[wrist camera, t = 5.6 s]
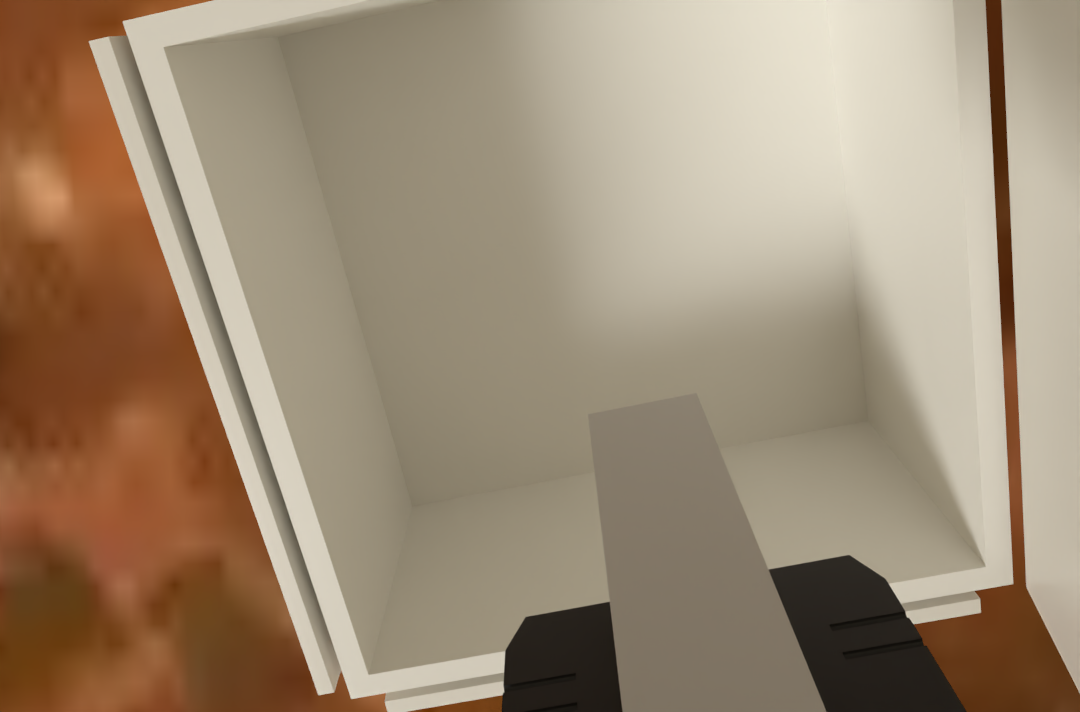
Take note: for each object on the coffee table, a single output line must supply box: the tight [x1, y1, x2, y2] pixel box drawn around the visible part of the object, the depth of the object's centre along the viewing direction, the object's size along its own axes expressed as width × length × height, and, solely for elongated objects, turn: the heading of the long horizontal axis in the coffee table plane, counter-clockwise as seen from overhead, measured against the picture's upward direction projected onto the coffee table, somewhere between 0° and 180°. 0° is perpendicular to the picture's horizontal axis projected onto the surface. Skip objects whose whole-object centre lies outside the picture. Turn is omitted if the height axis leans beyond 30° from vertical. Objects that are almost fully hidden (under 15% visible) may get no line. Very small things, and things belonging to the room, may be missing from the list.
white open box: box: [89, 0, 1013, 712], centre depth 24 cm, size 17×18×9 cm
